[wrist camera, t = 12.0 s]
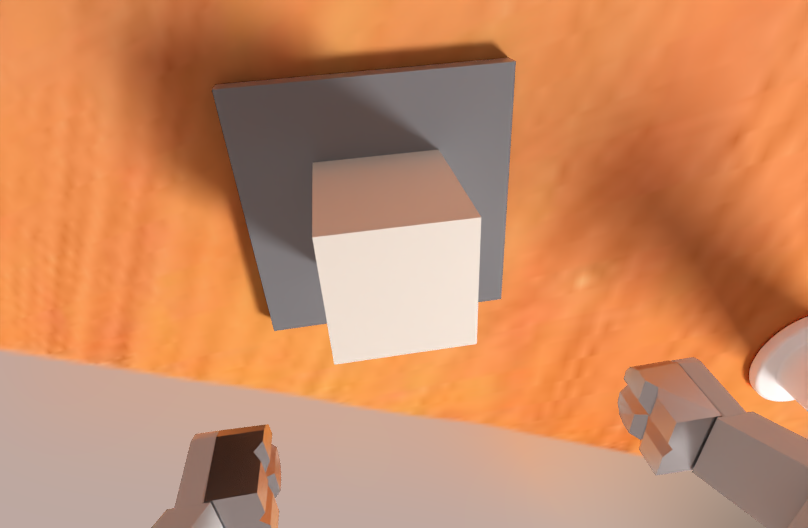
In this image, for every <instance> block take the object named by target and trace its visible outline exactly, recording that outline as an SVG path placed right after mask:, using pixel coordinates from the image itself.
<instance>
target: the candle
mask: <svg viewBox="0 0 808 528" xmlns="http://www.w3.org/2000/svg"><path fill="white" fill-rule="evenodd" d="M749 381H750V384H751V386H752V387H753V389H754V390H755V391H756V392H757V393H758V394H759V395H760V396H762V397H764V398H765V399H768V400H772V401H791V400H796V401H797V402H798V403H799V404H801V405H802V406H803V407H804V408H805V409H806V410H807V411H808V316H807V317H805V318H802V319H800V320H798V321H796V322H794V323H792V324H790V325H789V326H787V327H785V328H784V329H782V330H781V331H780V332H778V333H777V334H776V335H774V336H773V337H772V338H771V339H770V340H769V341H768V342H767V343H766V344H765V345H764V346H763V347H762V348H761V349H760V351H759V352H758V353H757V355H756V357H755V358H754V360H753V362H752V364H751V367H750V371H749Z"/></svg>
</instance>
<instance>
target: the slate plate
mask: <svg viewBox="0 0 808 528" xmlns="http://www.w3.org/2000/svg"><path fill="white" fill-rule="evenodd" d="M515 65H516V61H514V60H512V59H510V58H509V57H508V58H498V59H487V60H476V61H465V62H454V63H443V64H432V65H421V66H410V67H400V68H389V69H378V70H367V71H356V72H345V73H334V74H323V75H312V76H302V77H291V78H280V79H269V80H258V81H247V82H236V83H225V84H215V86H214V87H213V89H212V92H213V96H214V100H215V104H216V108H217V112H218V116H219V120H220V123H221V127H222V131H223V135H224V139H225V143H226V147H227V150H228V154H229V158H230V162H231V166H232V170H233V174H234V177H235V181H236V185H237V189H238V193H239V197H240V201H241V205H242V208H243V212H244V216H245V220H246V224H247V228H248V232H249V235H250V239H251V243H252V247H253V251H254V255H255V259H256V262H257V266H258V270H259V274H260V278H261V282H262V286H263V289H264V293H265V297H266V301H267V305H268V309H269V313H270V317H271V320H272V324H273V328H274V331H277V330H284V329H291V328H298V327H305V326H312V325H319V324H327V319H326V314H325V308H324V302H323V297H322V291H321V285H320V279H319V274H318V268H317V262H316V256H315V251H314V245H313V239H312V173H313V163H314V162H323V161H333V160H343V159H352V158H362V157H372V156H381V155H391V154H400V153H410V152H420V151H429V150H439V151H440V152H441V154H442V155H443V157H444V159H445V160H446V162H447V163H448V165H449V167H450V168H451V170H452V171H453V173H454V175H455V176H456V178H457V179H458V181H459V183H460V184H461V186H462V187H463V189H464V191H465V192H466V194H467V195H468V197H469V198H470V200H471V202H472V203H473V205H474V206H475V208H476V210H477V211H478V213H479V214H480V216H481V239H480V266H479V293H478V302H482V301H490V300H497V299H501V291H502V275H503V259H504V242H505V226H506V210H507V194H508V178H509V162H510V146H511V130H512V113H513V97H514V81H515Z"/></svg>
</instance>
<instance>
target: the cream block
mask: <svg viewBox="0 0 808 528" xmlns="http://www.w3.org/2000/svg"><path fill="white" fill-rule="evenodd" d="M312 239H313V245H314V251H315V256H316V262H317V268H318V274H319V279H320V285H321V291H322V297H323V302H324V308H325V314H326V319H327V325H328V331H329V337H330V342H331V348H332V354H333V360H334V364H341V363H348V362H355V361H362V360H369V359H376V358H383V357H389V356H396V355H403V354H410V353H417V352H424V351H431V350H438V349H444V348H451V347H458V346H465V345H472V344H477V320H478V293H479V266H480V239H481V216H480V214H479V213H478V211H477V210H476V208H475V206H474V205H473V203H472V202H471V200H470V198H469V197H468V195H467V194H466V192H465V191H464V189H463V187H462V186H461V184H460V183H459V181H458V179H457V178H456V176H455V175H454V173H453V171H452V170H451V168H450V167H449V165H448V163H447V162H446V160H445V159H444V157H443V155H442V154H441V152H440V151H439V150H429V151H420V152H410V153H400V154H391V155H381V156H372V157H362V158H352V159H343V160H333V161H323V162H314V163H313V173H312Z"/></svg>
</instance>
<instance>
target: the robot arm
mask: <svg viewBox="0 0 808 528" xmlns="http://www.w3.org/2000/svg"><path fill="white" fill-rule="evenodd" d="M624 380H625V381H626V383H627V384H628V385H627V386H626V387H625V388H624V389H623V390H622V391H621V392H620V395H619V399H618V407H619V414H620V416H621V419H622V422H623V424H624V425H625V427H626V429H627V430H628V432H629V433H630V434H632V435H634V436H635V437H637V438H638V439H640V447H639V450H640V451H641V453H642V455H643V456H644V458H645V459H646V461H647V463H648V464H649V466H650V467H651V469H652V470H653V472H654V474H655V475H662V474H668V473H675V472H682V471H689V470H693V471H692V472H693V473H694V474H695V475H697V476H698V477H699V478H701V479H702V480H703V481H705V482H706V483H707V484H709V485H710V486H711V487H713V488H714V489H716V490H717V491H718V492H719V493H721V494H722V495H723V496H725V497H726V498H727V499H729V500H730V501H732V502H733V503H734V504H735V505H737V506H738V507H739V508H741V509H742V510H744V511H745V512H746V513H748V514H749V515H750V516H751V517H753V518H754V519H755V520H757V521H758V522H760V523H761V524H762V525H764V526H765V527H766V528H808V439H806V438H804V437H802V436H800V435H798V434H796V433H794V432H792V431H790V430H788V429H786V428H784V427H782V426H780V425H778V424H776V423H774V422H772V421H770V420H768V419H766V418H764V417H762V416H760V415H758V414H756V413H754V412H746V411H745V410H744V409H743V408H742V407H741V406H740V405H739V404H738V403H737V401H736V400H735V399H734V398H733V397H732V396H731V395H730V394H729V393H728V391H727V390H726V389H725V388H724V387H723V386H722V385H721V384H720V383H719V381H718V380H717V379H716V378H715V377H714V376H713V375H712V374H711V372H710V371H709V370H708V369H707V368H706V367H705V366H704V365H703V364H702V362H701V361H699V360H698V359H696V358H694V357H692V358H685V359H679V360H673V361H663V362H658V363H652V364H646V365H640V366H634V367H630V368H629V369H628V370H627V371H626V373H625V376H624ZM271 441H272V432H271V430H270V427H269V425H259V426H252V427H244V428H236V429H228V430H221V431H214V432H207V433H200V434H195V436H194V437H193V439H192V441H191V443H190V447H189V451H188V455H187V459H186V463H185V467H184V471H183V475H182V479H181V483H180V487H179V492H178V495H177V500H176V503H175V508H172V509H167V510H166V511H165V512H164V514H163V515H162V516H161V517H160V518H159V519H158V521H157V522H156V523H155V524H154V525H153V526H152V527H151V528H278V520H279V509H278V506H277V503H276V501H275V498H276V496H277V495H278V493H279V492H280V490H281V466H280V459H279V454H278V451H277V447H276V446H274V445H272V444H271Z"/></svg>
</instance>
